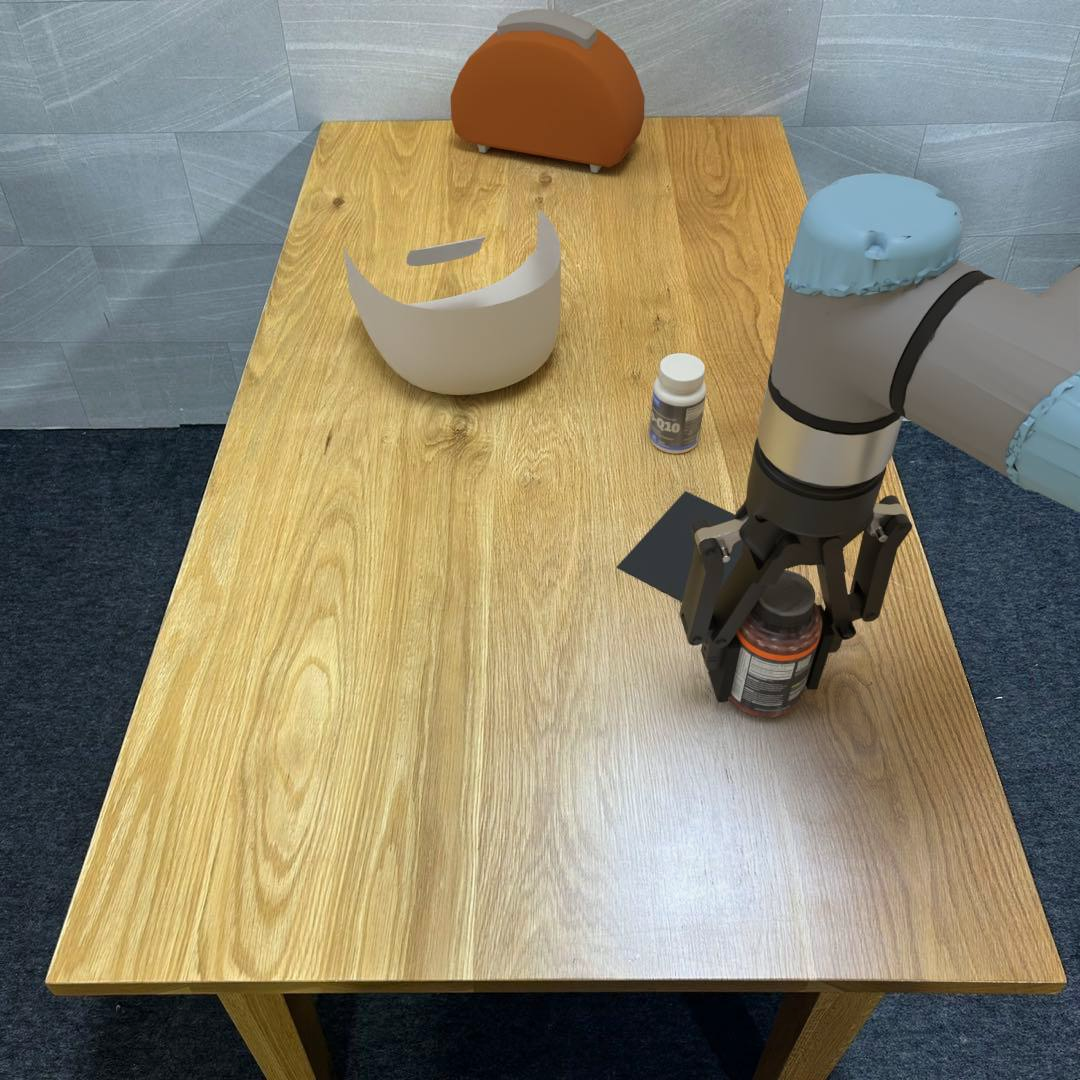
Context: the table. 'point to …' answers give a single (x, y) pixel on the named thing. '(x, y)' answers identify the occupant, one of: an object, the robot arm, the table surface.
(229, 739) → the table surface
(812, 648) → the supplement bottle
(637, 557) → the mat
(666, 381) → the pill bottle
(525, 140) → the orange toaster
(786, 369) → the robot arm
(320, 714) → the table surface
